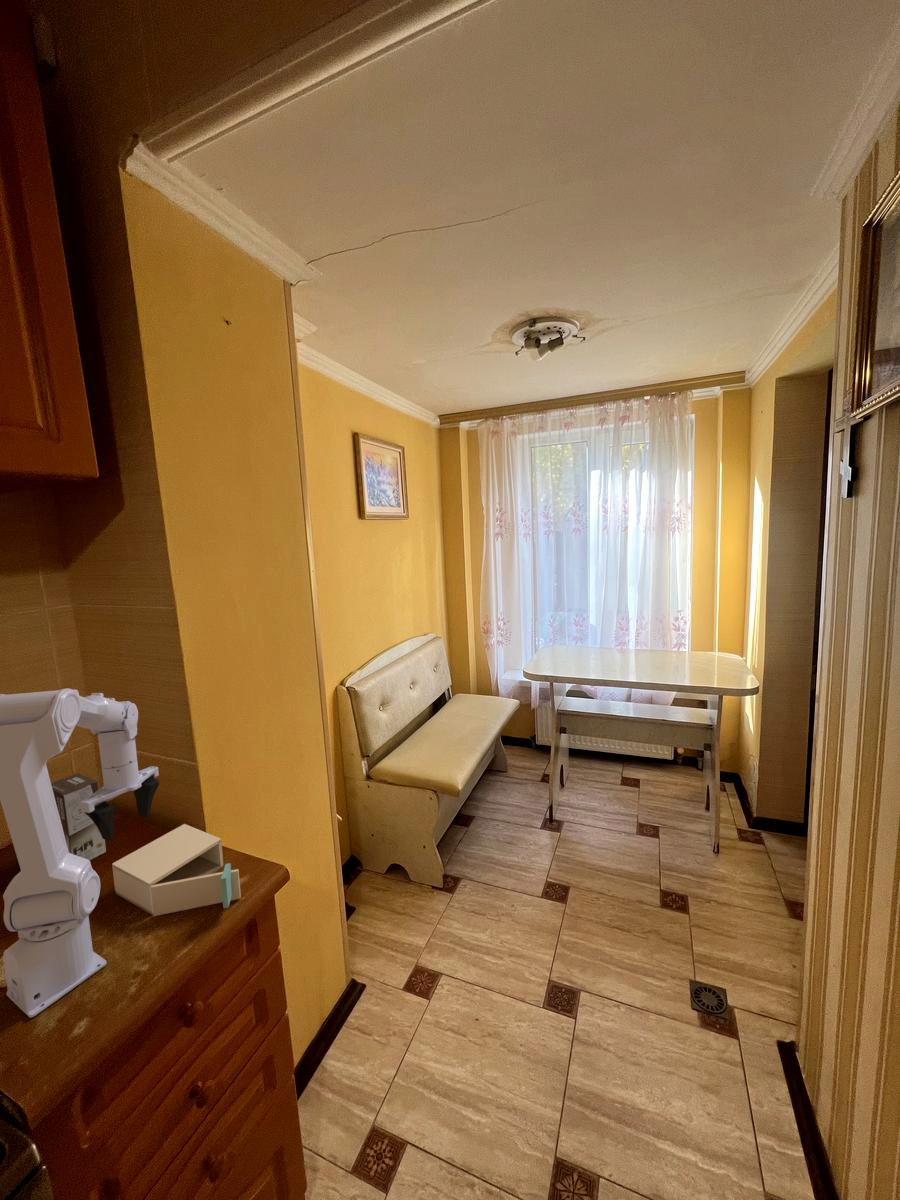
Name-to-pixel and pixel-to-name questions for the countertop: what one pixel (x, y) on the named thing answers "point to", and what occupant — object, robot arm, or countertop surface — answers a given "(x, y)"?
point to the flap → (196, 892)
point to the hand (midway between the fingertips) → (126, 826)
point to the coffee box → (78, 816)
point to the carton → (166, 863)
